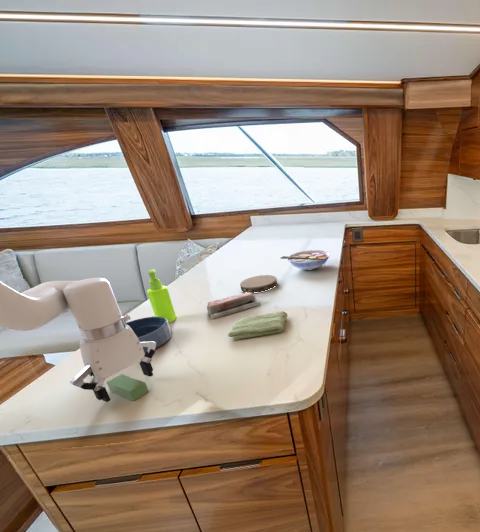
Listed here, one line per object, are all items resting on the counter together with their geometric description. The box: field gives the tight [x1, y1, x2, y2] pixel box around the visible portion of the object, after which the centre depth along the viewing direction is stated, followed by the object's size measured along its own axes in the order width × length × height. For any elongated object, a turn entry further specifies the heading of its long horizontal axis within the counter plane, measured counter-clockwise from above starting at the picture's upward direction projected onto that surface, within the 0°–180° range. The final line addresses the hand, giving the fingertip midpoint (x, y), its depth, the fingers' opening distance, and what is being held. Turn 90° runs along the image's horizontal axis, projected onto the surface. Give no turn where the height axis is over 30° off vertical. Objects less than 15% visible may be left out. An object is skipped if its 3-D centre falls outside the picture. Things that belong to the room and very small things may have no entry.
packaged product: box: [206, 292, 261, 320], centre depth 121 cm, size 18×5×10 cm
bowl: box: [126, 316, 173, 353], centre depth 97 cm, size 16×16×6 cm
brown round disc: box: [239, 274, 278, 294], centre depth 143 cm, size 16×16×3 cm
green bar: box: [106, 373, 149, 402], centre depth 77 cm, size 10×3×3 cm, turn 69°
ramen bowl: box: [280, 249, 331, 271], centre depth 166 cm, size 25×23×8 cm
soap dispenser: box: [146, 268, 177, 323], centre depth 111 cm, size 6×7×20 cm
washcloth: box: [227, 310, 288, 341], centre depth 105 cm, size 13×18×3 cm
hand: (128, 386), depth 77 cm, fingers open, 9 cm apart
